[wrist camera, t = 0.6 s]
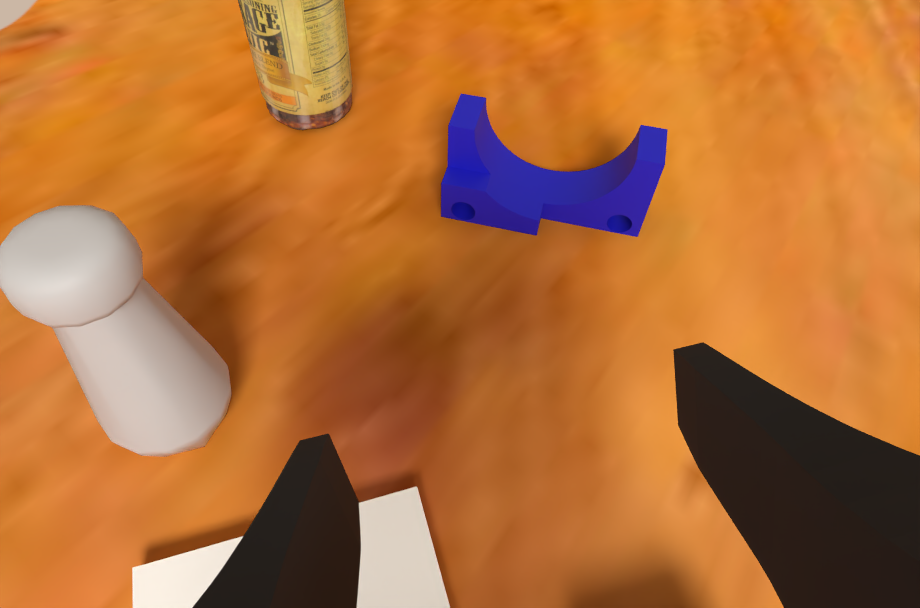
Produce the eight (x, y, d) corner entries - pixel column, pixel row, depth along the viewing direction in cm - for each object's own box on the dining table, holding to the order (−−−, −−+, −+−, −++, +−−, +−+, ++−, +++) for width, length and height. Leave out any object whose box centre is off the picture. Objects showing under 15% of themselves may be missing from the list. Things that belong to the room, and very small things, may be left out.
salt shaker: (98, 411, 31) (-74, 230, 21) (204, 345, 34) (98, 152, 23) (156, 499, 29) (-6, 344, 18) (265, 421, 31) (178, 244, 21)
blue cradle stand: (441, 218, 40) (441, 142, 35) (458, 170, 42) (461, 93, 37) (634, 257, 38) (663, 183, 33) (640, 205, 41) (667, 129, 36)
